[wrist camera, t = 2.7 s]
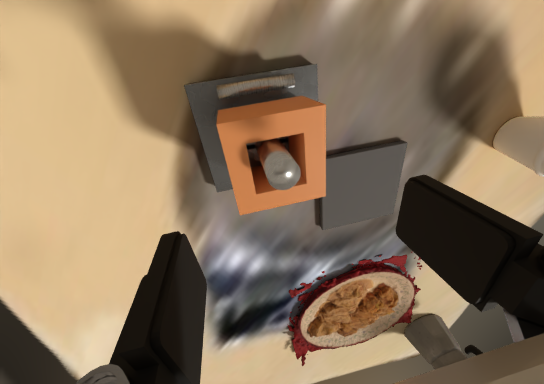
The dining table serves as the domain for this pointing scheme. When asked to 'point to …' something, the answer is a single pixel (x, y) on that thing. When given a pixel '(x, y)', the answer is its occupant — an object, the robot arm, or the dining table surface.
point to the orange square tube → (268, 125)
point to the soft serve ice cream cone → (523, 142)
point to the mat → (361, 184)
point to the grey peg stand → (246, 92)
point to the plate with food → (353, 306)
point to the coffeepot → (436, 341)
